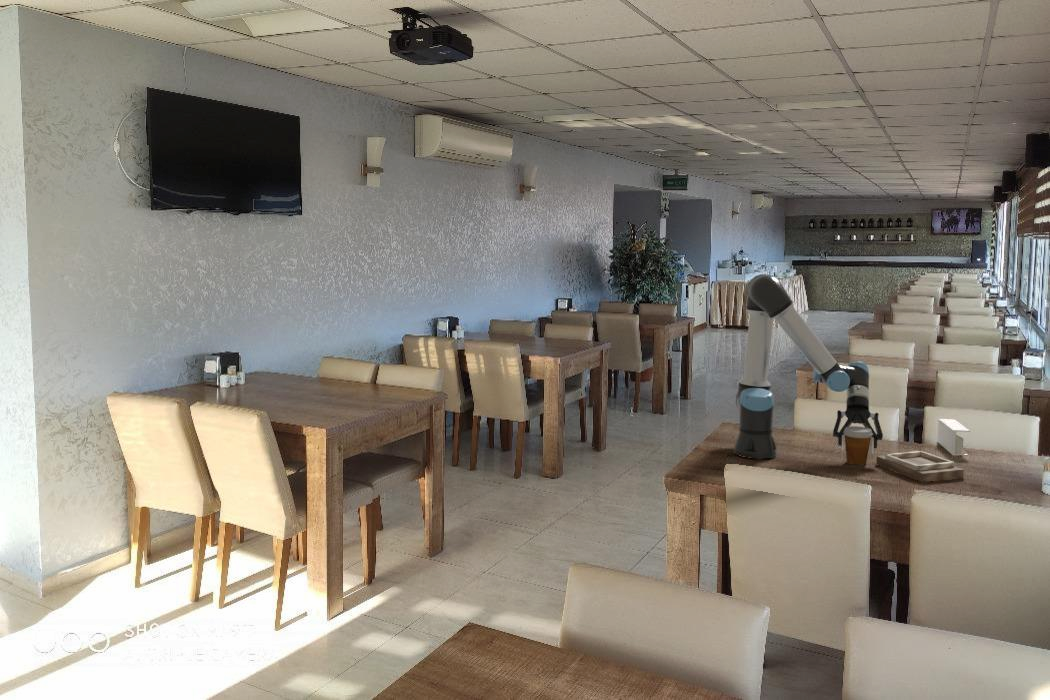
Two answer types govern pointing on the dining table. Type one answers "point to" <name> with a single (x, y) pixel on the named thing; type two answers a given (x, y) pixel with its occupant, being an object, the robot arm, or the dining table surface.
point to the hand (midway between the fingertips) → (857, 454)
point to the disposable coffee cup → (857, 444)
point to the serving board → (921, 466)
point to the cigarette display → (951, 435)
